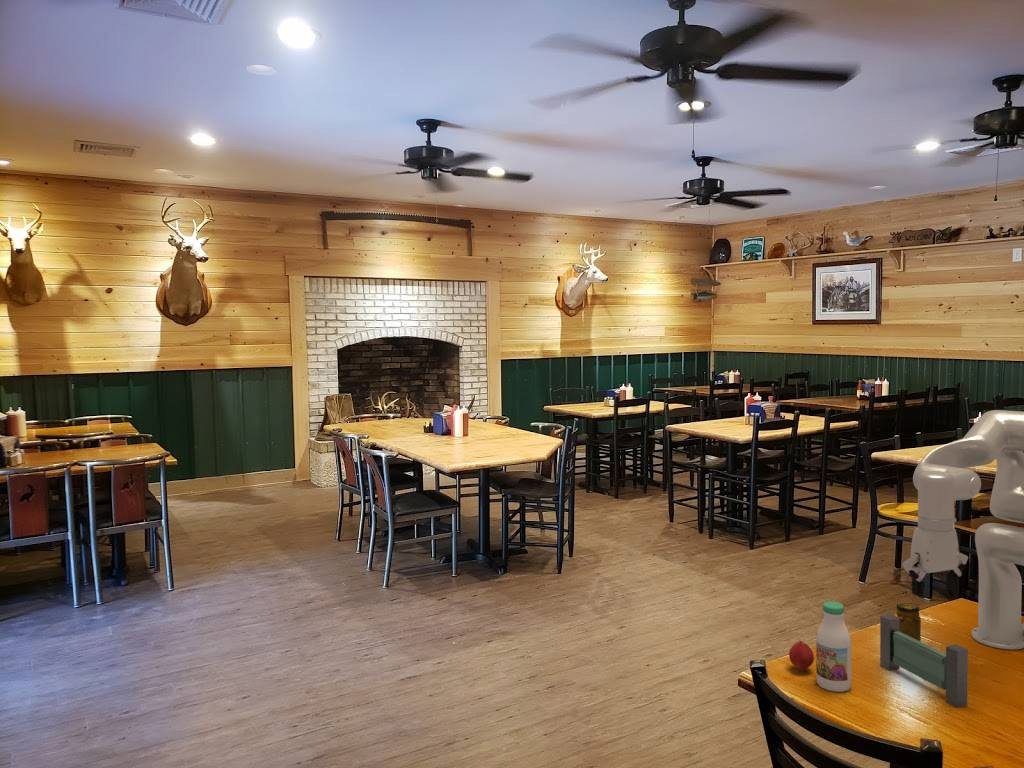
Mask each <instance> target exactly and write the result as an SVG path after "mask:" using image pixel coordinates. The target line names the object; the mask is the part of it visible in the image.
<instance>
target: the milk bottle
mask: <svg viewBox="0 0 1024 768" xmlns="http://www.w3.org/2000/svg"><path fill="white" fill-rule="evenodd" d="M844 607H845V606H844V605H843V604H842V602H841V603H840V602H838V601H825V602H824V603H823V604H822V613H823V619H822V620H821V623H820V625H819V627H818V630H817V632H816V633H817V634H816V640H815V641H816V643H815V646H816V649H815V653H816V655H815V657H816V659H815V663H816V668H815V669H816V682H817V685H818V687H820V688H822V689H824V690H827V691H830V692H835V693H838V692H839V693H843V692H848V691H849V690H850V689H851V687H852V639H851V636H850V632H849V630H848V627H847V626H846V624H845V621H844V615H845V612H844V611H845V608H844Z"/></svg>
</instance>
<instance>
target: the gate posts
mask: <svg viewBox="0 0 1024 768" xmlns="http://www.w3.org/2000/svg"><path fill="white" fill-rule="evenodd" d="M879 617H880V620H879V622H880V624H879V625H880V627H879V628H880V629H879V632H880V633H879V634H880V636H879V638H880V639H879V641H880V642H879V643H880V645H879V648H880V650H879V652H880V653H879V655H880V656H879V661H880V663H879V665H880V667H882V668H884V669H885V670H888V671H889V672H891V671H895V670H900V666H898V665H896V664H894V663H893V657H894V641H893V635H894V632H897V631H899V618H898V617H895V615H893V614H890V613H888V614H883V615H880V616H879ZM945 654H946V690H945V702H946V703H948V704H949V705H951V706H953V707H955V708H961V707H965V706H968V686H969V685H968V678H969V677H968V676H969V673H968V671H969V670H968V668H969V667H968V665H969V664H968V662H969V649H968V648H965V647H963V646H962V645H959V644H957V643H956V644H951V645H947V646H945Z"/></svg>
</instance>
